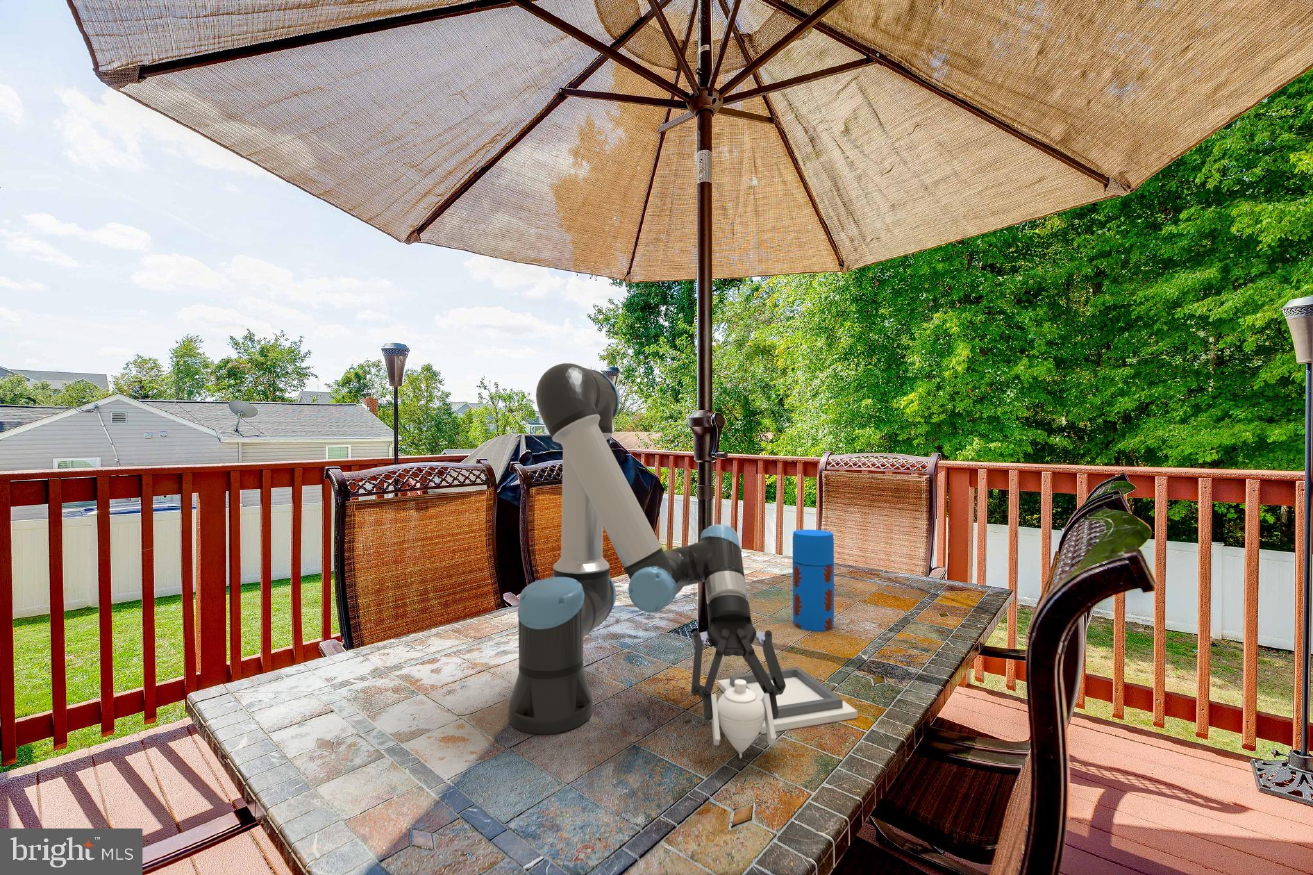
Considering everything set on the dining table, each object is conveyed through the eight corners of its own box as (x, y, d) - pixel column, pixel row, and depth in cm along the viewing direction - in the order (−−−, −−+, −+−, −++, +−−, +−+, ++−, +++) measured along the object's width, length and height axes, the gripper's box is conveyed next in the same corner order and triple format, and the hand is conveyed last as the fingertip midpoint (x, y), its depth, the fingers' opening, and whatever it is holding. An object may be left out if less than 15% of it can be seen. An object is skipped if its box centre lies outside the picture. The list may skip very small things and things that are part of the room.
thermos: (784, 621, 152) (784, 531, 152) (815, 616, 156) (814, 528, 157) (811, 634, 142) (810, 537, 142) (842, 628, 146) (842, 534, 147)
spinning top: (706, 757, 86) (705, 680, 86) (735, 739, 92) (735, 667, 92) (745, 778, 81) (745, 696, 81) (775, 758, 86) (774, 681, 86)
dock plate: (761, 733, 93) (761, 717, 93) (717, 686, 112) (717, 672, 112) (857, 717, 99) (857, 702, 99) (800, 674, 117) (800, 662, 117)
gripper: (780, 612, 102) (807, 748, 86) (670, 613, 101) (675, 750, 85) (788, 591, 97) (817, 732, 80) (671, 592, 96) (677, 734, 80)
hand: (744, 741), depth 83 cm, fingers closed on spinning top, 8 cm apart
